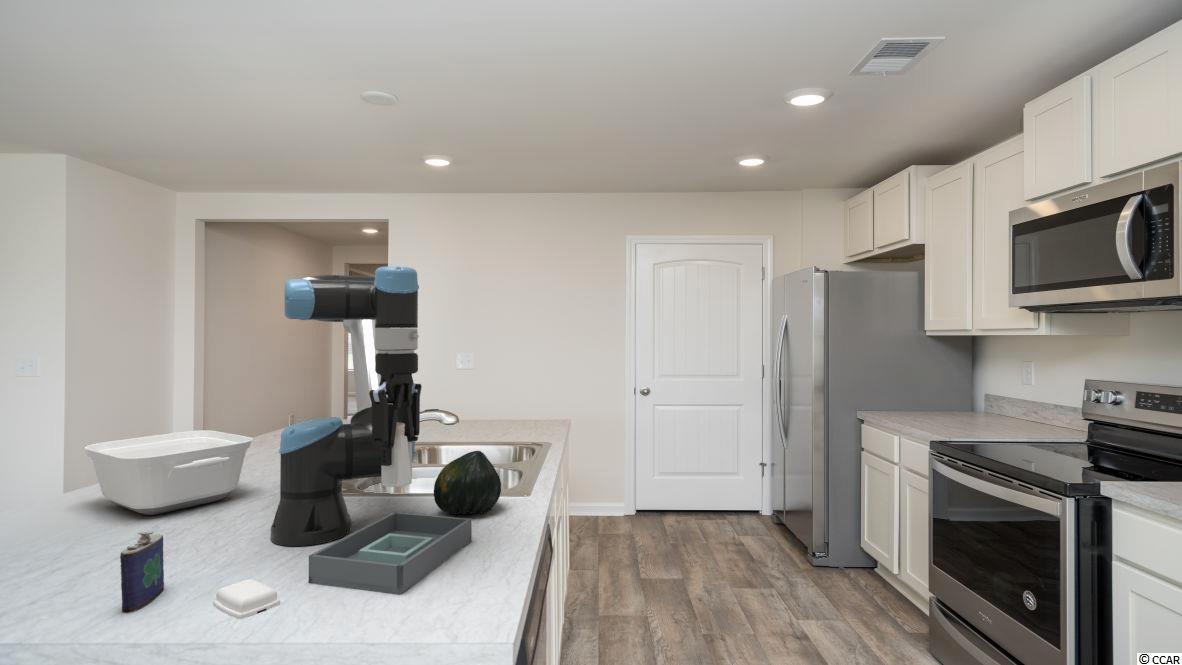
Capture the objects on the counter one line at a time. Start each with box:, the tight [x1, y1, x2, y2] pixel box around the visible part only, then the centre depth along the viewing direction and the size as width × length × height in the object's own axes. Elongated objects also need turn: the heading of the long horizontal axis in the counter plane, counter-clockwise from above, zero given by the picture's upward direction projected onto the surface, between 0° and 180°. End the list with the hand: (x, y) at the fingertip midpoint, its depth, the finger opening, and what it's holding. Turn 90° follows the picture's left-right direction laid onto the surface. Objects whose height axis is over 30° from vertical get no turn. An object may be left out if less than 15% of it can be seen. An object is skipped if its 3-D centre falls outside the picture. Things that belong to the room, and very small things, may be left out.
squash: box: [433, 450, 502, 515], centre depth 144 cm, size 14×15×15 cm
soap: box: [212, 578, 281, 620], centre depth 97 cm, size 9×7×3 cm
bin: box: [308, 511, 473, 595], centre depth 115 cm, size 17×25×4 cm
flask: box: [119, 531, 165, 614], centre depth 98 cm, size 9×3×11 cm, turn 8°
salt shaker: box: [382, 422, 413, 488], centre depth 114 cm, size 5×5×11 cm
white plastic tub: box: [84, 429, 254, 516], centre depth 151 cm, size 34×29×15 cm
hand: (397, 479), depth 114 cm, fingers closed on salt shaker, 4 cm apart
